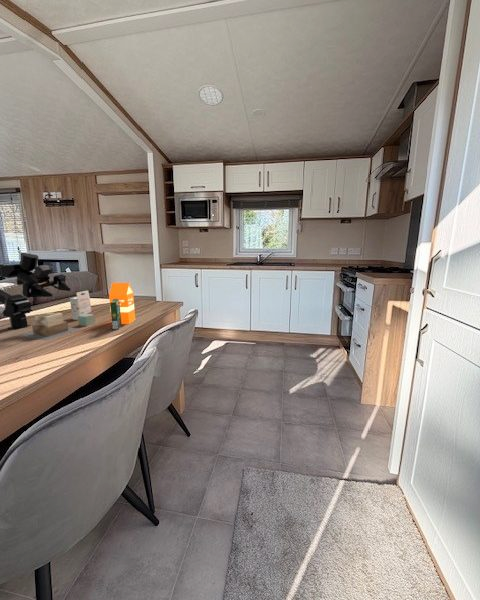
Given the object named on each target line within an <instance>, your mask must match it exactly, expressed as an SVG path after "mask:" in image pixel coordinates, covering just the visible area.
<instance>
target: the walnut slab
mask: <svg viewBox="0 0 480 600" xmlns="http://www.w3.org/2000/svg"><path fill="white" fill-rule="evenodd" d="M31 327H32V332H33V335H40V336H48V337H49V336H53V335H56V334H59V333H62V332H65V331H68V328H69V325H68V321H64V322H63V323H59V324H56V325H52V326H49V327H48V326H39V325H36V324H32V325H31Z"/></svg>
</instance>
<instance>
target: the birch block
mask: <svg viewBox="0 0 480 600" xmlns="http://www.w3.org/2000/svg"><path fill="white" fill-rule="evenodd" d="M34 319H35V325H39V326H48V327H49V326H52V325H56V324H59V323H63V322H65V321H64V315H63V313H62V312H51V311H50V312H47V313H43V314H42V313H41V314H39V315H35V316H34Z"/></svg>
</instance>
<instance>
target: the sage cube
mask: <svg viewBox="0 0 480 600" xmlns="http://www.w3.org/2000/svg"><path fill="white" fill-rule="evenodd" d="M77 322H78V326H82V327H88V326H91V325H95V324H96V317H95V314H93V313H92V314H84V315H80V316H78V320H77Z"/></svg>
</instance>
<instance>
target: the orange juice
mask: <svg viewBox="0 0 480 600" xmlns="http://www.w3.org/2000/svg"><path fill="white" fill-rule="evenodd" d="M108 296H109V298H108V299H109V303H110V302H111V301H112V300H113V299H119V301H120V313H121V323H122V325H129V324H132V323H133V322H134V320H135V321H136V314H135V299H134V291H133V289H132V287H131V285H130V283H129V282H112V283H111V286H110V290H109V294H108ZM109 308H110V307H109ZM109 310H110V313H111V308H110V309H109ZM110 319H111V318H110ZM111 322H112V319H111ZM131 322H132V323H131Z"/></svg>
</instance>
